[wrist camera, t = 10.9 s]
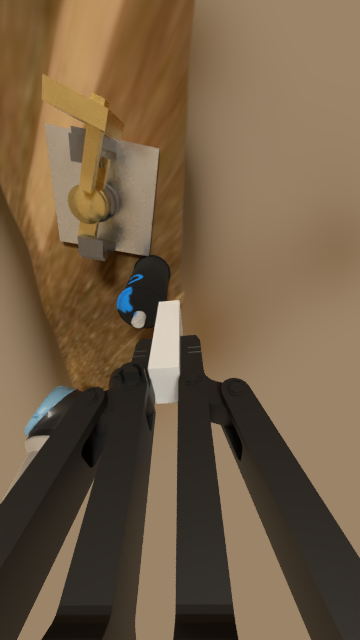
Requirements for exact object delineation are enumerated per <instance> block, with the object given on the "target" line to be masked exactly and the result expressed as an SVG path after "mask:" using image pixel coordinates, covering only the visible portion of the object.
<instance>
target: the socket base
mask: <svg viewBox="0 0 360 640" xmlns="http://www.w3.org/2000/svg"><path fill="white" fill-rule="evenodd" d="M45 131H46V138H47V146H48V153H49V161H50V168H51V176H52V183H53V191H54V198H55V206H56V213H57V221H58V228H59V236H60V241H63V242H69V243H75V244H78V249H79V255H82V258H88V259H94V260H100V261H105V260H106V259H107V258H108V257H109V256H110V255H111V254H112V253H113V251H114V250H115V251H121V252H127V253H133V254H138V255H144V256H149V255H150V245H151V235H152V224H153V214H154V204H155V193H156V183H157V172H158V162H159V152H160V149H158V148H153V147H149V146H144V145H140V144H135V143H131V142H126V141H122V140H121V141H119V140H117V139H113V138H110V137H108V136H107V135H105V134H104V137H103V143H102V149H101V155H100V161H99V167H103V157H105V158H107V159H110V160H111V162H110V168H109V173H108V178H107V184H106V189H105V191H106V193H107V194H108V196H109V198H110V202H111V210H110V213H109V215H108V216H107V217H106V218H104V219H103V220H101V221H100V222H99V227H98V232H97V238H93V237H88V236H82V235H79V236H78V231H79V224H80V221H79V220H78V219H77V218H76V217H75V216H74V215H73V214H72V212H71V210H70V208H69V205H68V194H69V192H70V190H71V189H72V188H73V187H74V186H76V185H79V182H80V174H81V166H82V157H83V149H84V141H85V133H86V129H83V128H78V127H74V126H71V129H68V128H64V127H59V126H55V125H50V124H46V123H45ZM102 156H103V157H102ZM77 238H78V240H77Z"/></svg>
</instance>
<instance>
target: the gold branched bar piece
mask: <svg viewBox="0 0 360 640" xmlns="http://www.w3.org/2000/svg"><path fill="white" fill-rule="evenodd" d="M42 100H43V101H45V102H47V103H49V104H50V105H52V106H54V107H56V108H58V109H59V110H61V111H63V112H65V113H66V114H68V115H70V116H72V117H74V118H76V119H78V120H80V121H82V122H84V123H86V124H87V125H86V133H85V141H84V149H83V157H82V166H81V174H80V182H79V185H76V186H74V187H73V188H72V189H71V190H70V192H69V194H68V205H69V208H70V210H71V212H72V214H73V215H74V216H75V217H76V218H77V219H78V220H79V221H80V224H79V231H78V236H79V235H82V236H88V237H93V238H97V232H98V227H99V222H100V221H101V220H103V219H104V218H106V217H107V216H108V215H109V213H110V210H111V202H110V198H109V196H108V194H107V193H106V191H105V189H106V184H107V178H108V173H109V168H110V162H111V160H110V159H107V158H105V157H103V156H102V157H103V167H99V161H100V155H101V149H102V143H103V137H104V133H105V134H107V135H109V136H111V137H113V138H115V139H117V140H119V141H121V138H122V132H123V127H124V123H123V122H122V121H121V120H120V119H119V118H118V117H117V116H116V115H114V114H113V113H112V112H111V111H110V110H109V109H108V106H109V103H108V102H107V101H106V100H105V99H103V98H102V97H100V96H98V95H96V94H94V93H92V92H91V93H90V99H89V98H87V97H85V96H83V95H82V94H80V93H78V92H76V91H74V90H72V89H70V88H68V87H67V86H65V85H63V84H61V83H59V82H57V81H55V80H53V79H51V78H50V77H48V76H46V75H44V74H43V78H42ZM77 240H78V238H77Z"/></svg>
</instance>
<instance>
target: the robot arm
mask: <svg viewBox="0 0 360 640" xmlns="http://www.w3.org/2000/svg"><path fill="white" fill-rule="evenodd" d="M155 400H156V404H160V403H178V450H177V451H178V453H177V454H178V455H177V539H176V543H177V544H176V615H175V628H174V638H173V640H238V635H237V630H236V624H235V617H234V610H233V602H232V594H231V587H230V578H229V570H228V561H227V553H226V544H225V537H224V528H223V520H222V513H221V504H220V496H219V487H218V479H217V471H216V463H215V454H214V446H213V438H212V430H211V422H212V423H216V424H220V425H221V426H222V429H223V431H224V434H225V436H226V438H227V441H228V443H229V446H230V448H231V450H232V453H233V455H234V457H235V460H236V462H237V464H238V467H239V469H240V472H241V474H242V476H243V479H244V481H245V484H246V486H247V488H248V490H249V493H250V495H251V498H252V500H253V503H254V505H255V507H256V510H257V512H258V514H259V517H260V519H261V522H262V524H263V526H264V528H265V531H266V533H267V536H268V538H269V540H270V543H271V545H272V548H273V550H274V552H275V555H276V557H277V559H278V562H279V564H280V567H281V569H282V571H283V574H284V576H285V578H286V581H287V583H288V585H289V588H290V590H291V593H292V595H293V597H294V600H295V602H296V605H297V607H298V609H299V612H300V614H301V616H302V619H303V621H304V623H305V626H306V628H307V631H308V633H309V635H310V637H311V640H360V558H359V556H358V555H357V553H356V552H355V550H354V549H353V547H352V545H351V544H350V542H349V541H348V539H347V538H346V536H345V535H344V533H343V532H342V530H341V528H340V527H339V525H338V524H337V522H336V520H335V519H334V517H333V516H332V514H331V513H330V511H329V510H328V508H327V507H326V505H325V503H324V502H323V500H322V499H321V497H320V496H319V494H318V492H317V491H316V489H315V488H314V486H313V485H312V483H311V482H310V480H309V479H308V477H307V475H306V474H305V472H304V471H303V469H302V468H301V466H300V464H299V463H298V461H297V460H296V458H295V457H294V455H293V454H292V452H291V450H290V449H289V447H288V446H287V444H286V443H285V441H284V440H283V438H282V437H281V435H280V433H279V432H278V430H277V429H276V427H275V426H274V424H273V422H272V421H271V419H270V418H269V416H268V415H267V413H266V412H265V410H264V408H263V407H262V405H261V404H260V402H259V401H258V399H257V398H256V396H255V395H254V393H253V391H252V390H251V388H250V387H249V385H248V384H247V383H246V382H245V381H243V380H241V379H237V378H230V379H227V380H225V381H224V382H223V383H221V382H216V381H214V380H211V379H210V378H208V377H207V376H206V375H205V373H204V370H203V362H202V353H201V345H200V340H199V338H198V337H197V336H196V335H189V336H182V322H181V312H180V302H179V300H176V301H164V302H159V305H158V311H157V317H156V323H155V328H154V334H153V339H141V340H140V341H139V342H138V343H137V344H136V347H135V351H134V354H133V358H132V362H130V363H127V364H125V365H123V366H122V367H121V368H119V369H117V370H115V371H114V372H113V373H112V375H111V377H110V380H109V390H107V391H104V390H103V389H102V388H99V387H92V388H89V389H87V390H85V391H83V392H82V391H79V390H78V389H73V388H69V387H66V386H59V387H57V388H55V389H54V390H53V391H52V392H51V393H50V394H49V395H48V396H47V397H46V399H45V400H44V401H43V402H42V404H41V405H40V406H39V408H38V409H37V410H36V412H35V414H34V415H33V417H32V418H31V419H30V421H29V422H28V424H27V426H26V428H25V430H24V433H25V434H26V436H29V437H28V438H27V440H26V442H25V448H26V451H27V457H26V458H25V460H24V462H23V464H22V465H21V467H20V469H19V471H18V473H17V475H16V476H15V478H14V480H13V482H12V484H11V486H10V487H9V489H8V491H7V493H6V495H5V497H4V498H3V500H2V502H1V504H0V640H17V638H18V636H19V634H20V632H21V630H22V627H23V626H24V623H25V621H26V619H27V617H28V615H29V613H30V611H31V609H32V607H33V605H34V603H35V601H36V599H37V597H38V594H39V592H40V590H41V588H42V586H43V584H44V582H45V580H46V578H47V576H48V574H49V572H50V569H51V567H52V565H53V563H54V561H55V559H56V557H57V555H58V553H59V551H60V549H61V547H62V545H63V542H64V540H65V538H66V536H67V534H68V532H69V530H70V528H71V526H72V524H73V522H74V520H75V518H76V515H77V513H78V511H79V509H80V507H81V505H82V503H83V501H84V499H85V497H86V495H87V493H88V490H89V488H90V486H91V484H92V482H93V480H94V483H93V486H92V490H91V493H90V497H89V501H88V504H87V508H86V511H85V515H84V518H83V522H82V525H81V529H80V533H79V537H78V540H77V543H76V547H75V550H74V554H73V558H72V561H71V565H70V568H69V572H68V575H67V579H66V582H65V586H64V589H63V593H62V597H61V600H60V604H59V607H58V610H57V613H56V616H55V618H54V620H53V623H52V624H51V626H50V627H49V629H48V630H47V632H46V634H45V635H44V636H43V638H42V640H136V633H135V614H136V603H137V594H138V584H139V574H140V564H141V554H142V543H143V534H144V523H145V514H146V503H147V494H148V484H149V474H150V463H151V454H152V444H153V434H154V424H155V414H156V413H155V407H154V403H155ZM94 478H95V479H94Z"/></svg>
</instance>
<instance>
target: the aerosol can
mask: <svg viewBox="0 0 360 640" xmlns="http://www.w3.org/2000/svg"><path fill="white" fill-rule="evenodd" d="M169 279H170V268H169V266H168V264H167V263H166V261H165V260H163V259H162V258H160V257H158V256H155V255H149V256H144V257H141V258H140V259H139V260H138V261H137V262H136V264H135V267H134V271H133V273H132V275H131V277H130V279H129V281H128V283H127V285H126V287H125V289H124V291H123V292H122V293H121V294H120V296H119V297H118V300H117V309H118V312H119V315H120V316H121V318H122V319H123V320H124V321H125V322H126V323H128V324H129V325H131V326H134V327H135V328H152V327H154V326H155V323H156V317H157V311H158V305H159V302H164V301H166V299H167V290H168V281H169Z"/></svg>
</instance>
